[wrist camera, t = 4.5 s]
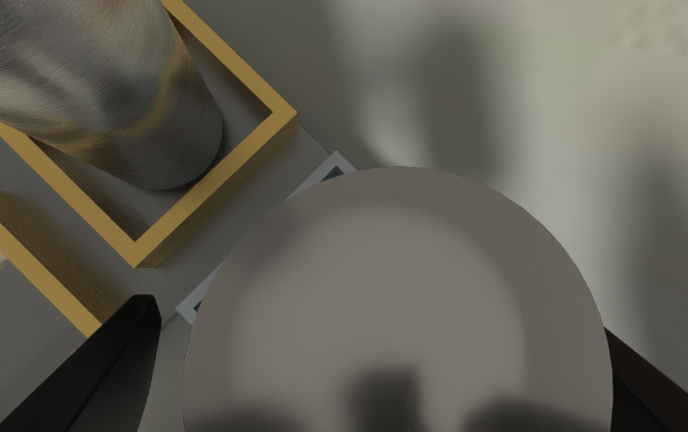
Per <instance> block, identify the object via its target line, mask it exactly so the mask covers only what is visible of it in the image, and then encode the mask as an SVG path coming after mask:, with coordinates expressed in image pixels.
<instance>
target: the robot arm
mask: <svg viewBox="0 0 688 432" xmlns="http://www.w3.org/2000/svg"><path fill="white" fill-rule="evenodd" d="M161 326H162V319H161V315H160V312H159V308H158V305H157V302H156V299H155V297H154V296H153V295H151V294H136V295H133V296H132V297H130V298H129V299H128V300H127V301H126V302H125V303H124V304H123V305H122V306H121V307H120V308H119V309H118V310H117V311H116V312H115V313H114V314H113V315H112V316H111V317H109V318H108V319H107V320H106V321H105V322H104V323H103V324H102V325H101V326H100V327H99V328H98V329H97V330H96V331H95V332H94V333H93V334H92V335H91V336H90V337H89V338H88V339H87V340H86V341H84V342H83V343H82V344H81V345H80V346H79V347H78V348H77V349H76V350H75V351H74V352H73V353H72V354H71V355H70V356H69V357H68V358H67V359H66V360H65V361H64V362H63V363H62V364H61V365H60V366H58V367H57V368H56V369H55V370H54V371H53V372H52V373H51V374H50V375H49V376H48V377H47V378H46V379H45V380H44V381H43V382H42V383H41V384H40V385H39V386H38V387H37V388H36V389H35V390H33V391H32V392H31V393H30V394H29V395H28V396H27V397H26V398H25V399H24V400H23V401H22V402H21V403H20V404H19V405H18V406H17V407H16V408H15V409H14V410H13V411H12V412H11V413H10V414H9V415H7V416H6V417H5V418H4V419H3V420H2V421H1V422H0V432H137V430H138V427H139V424H140V421H141V418H142V414H143V411H144V408H145V405H146V401H147V398H148V394H149V390H150V385H151V380H152V375H153V370H154V364H155V359H156V354H157V348H158V343H159V338H160V332H161ZM603 327H604V326H603ZM604 330H605V334H606V338H607V341H608V346H609V353H610V360H611V367H612V382H613V406H612V417H611V428H610V432H688V393H687V392H686V391H685V390H683V389H682V388H681V387H679V386H678V385H677V384H676V383H674V382H673V381H672V380H671V379H669V378H668V377H667V376H666V375H664V374H663V373H662V372H661V371H659V370H658V369H657V368H656V367H654V366H653V365H652V364H650V363H649V362H648V361H647V360H645V359H644V358H643V357H642V356H640V355H639V354H638V353H637V352H635V351H634V350H633V349H632V348H630V347H629V346H628V345H626V344H625V343H624V342H623V341H621V340H620V339H619V338H618V337H616V336H615V335H614V334H613V333H611V332H610V331H609V330H608V329H606V328H605V327H604Z"/></svg>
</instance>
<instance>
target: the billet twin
mask: <svg viewBox="0 0 688 432" xmlns="http://www.w3.org/2000/svg"><path fill="white" fill-rule="evenodd" d="M0 122H2V123H4V124H6V125H8V126H10V127H12V128H14V129H16V130H18V131H20V132H22V133H25V134H27V135H29V136H31V137H33V138H35V139H37V140H39V141H41V142H43V143H45V144H48V145H50V146H52V147H54V148H56V149H58V150H60V151H62V152H64V153H66V154H68V155H71V156H73V157H75V158H77V159H79V160H81V161H83V162H85V163H87V164H89V165H91V166H94V167H96V168H98V169H100V170H102V171H104V172H106V173H108V174H110V175H112V176H114V177H117V178H119V179H121V180H123V181H125V182H127V183H129V184H131V185H134V186H137V187H140V188H145V189H152V190H162V189H170V188H175V187H178V186H181V185H183V184H186V183H188V182H190V181H191V180H193V179H195V178H196V177H198V176H199V175H200V174H201V173H202V172H204V171H205V169H206V168H207V167H208V166H209V165H210V164H211V162H212V161H213V159H214V158H215V156H216V154H217V152H218V149H219V147H220V143H221V139H222V130H223V129H222V119H221V114H220V111H219V108H218V106H217V104H216V102H215V100H214V98H213V96H212V94H211V92H210V91H209V89H208V87H207V85H206V83H205V81H204V79H203V78H202V76H201V74H200V72H199V70H198V68H197V67H196V65H195V63H194V61H193V59H192V57H191V55H190V54H189V52H188V50H187V48H186V46H185V44H184V43H183V41H182V39H181V37H180V35H179V33H178V31H177V30H176V28H175V26H174V24H173V22H172V20H171V19H170V17H169V15H168V13H167V11H166V9H165V7H164V6H163V4H162V2H161V0H0Z"/></svg>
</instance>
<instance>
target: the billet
mask: <svg viewBox="0 0 688 432" xmlns="http://www.w3.org/2000/svg"><path fill="white" fill-rule="evenodd" d="M182 398H183V421H184V427H185V432H610V428H611V417H612V406H613V382H612V367H611V360H610V353H609V346H608V341H607V338H606V334H605V330H604V327H603V323H602V319H601V316H600V313H599V311H598V309H597V306H596V304H595V301H594V299H593V296H592V294H591V291H590V289H589V287H588V286H587V284H586V282H585V280H584V278H583V277H582V275H581V273H580V271H579V269H578V268H577V266H576V265H575V263H574V262H573V260H572V259H571V258H570V256H569V255H568V253H567V252H566V251H565V249H564V248H563V246H562V245H561V244H560V243H559V242H558V241H557V240H556V239H555V237H554V236H553V235H552V234H551V233H550V232H549V231H548V230H547V229H546V228H545V227H544V226H543V225H542V224H541V223H540V222H539V221H538V220H537V219H535V218H534V217H533V216H532V215H531V214H529V213H528V212H527V211H526V210H525V209H524V208H522V207H521V206H519V205H518V204H516V203H515V202H513V201H512V200H510V199H508V198H507V197H505V196H504V195H502V194H501V193H499V192H497V191H495V190H493V189H491V188H489V187H487V186H485V185H482V184H480V183H478V182H476V181H473V180H470V179H467V178H464V177H461V176H458V175H455V174H452V173H448V172H443V171H438V170H433V169H428V168H416V167H402V166H397V167H381V168H371V169H365V170H360V171H355V172H350V173H346V174H343V175H340V176H337V177H334V178H331V179H328V180H325V181H322V182H319V183H317V184H315V185H313V186H311V187H309V188H307V189H305V190H303V191H301V192H299V193H297V194H295V195H294V196H292V197H291V198H289V199H288V200H286V201H285V202H283V203H282V204H280V205H279V206H277V207H276V208H274V209H273V210H271V211H270V212H269V213H268V214H267V215H266V216H264V217H263V218H262V219H261V220H260V221H259V222H258V223H256V224H255V225H254V226H253V227H252V228H251V229H250V230H249V231H248V232H247V233H246V234H245V236H244V237H243V238H242V239H241V240H240V241H239V242H238V243H237V244H236V246H235V247H234V248H233V249H232V250H231V252H230V253H229V255H228V256H227V258H226V259H225V260H224V262H223V263H222V265H221V266H220V268H219V269H218V271H217V272H216V274H215V276H214V277H213V279H212V281H211V283H210V285H209V287H208V289H207V291H206V293H205V295H204V297H203V299H202V301H201V304H200V307H199V309H198V312H197V315H196V318H195V321H194V323H193V326H192V329H191V334H190V338H189V343H188V347H187V352H186V356H185V364H184V375H183V386H182Z"/></svg>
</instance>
